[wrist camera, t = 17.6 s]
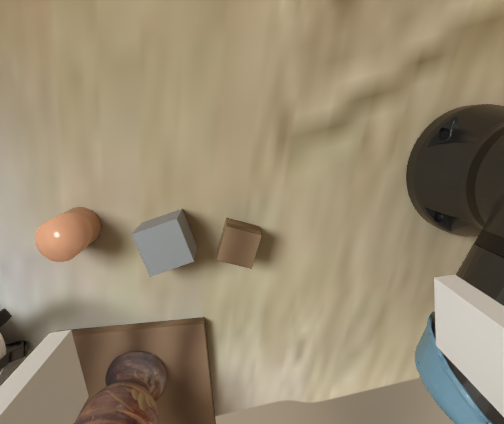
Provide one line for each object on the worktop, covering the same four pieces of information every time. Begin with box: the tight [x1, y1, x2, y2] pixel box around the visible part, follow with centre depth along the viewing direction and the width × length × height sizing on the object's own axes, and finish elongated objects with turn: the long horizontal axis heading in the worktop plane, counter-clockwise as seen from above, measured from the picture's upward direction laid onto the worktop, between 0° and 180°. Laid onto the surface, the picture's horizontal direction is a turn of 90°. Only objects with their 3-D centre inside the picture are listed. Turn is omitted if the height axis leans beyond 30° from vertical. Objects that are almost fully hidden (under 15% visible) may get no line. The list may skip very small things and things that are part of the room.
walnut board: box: [58, 317, 216, 424], centre depth 47 cm, size 18×16×2 cm
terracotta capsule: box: [35, 207, 101, 262], centre depth 40 cm, size 4×4×6 cm
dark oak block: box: [217, 218, 262, 269], centre depth 42 cm, size 4×4×4 cm
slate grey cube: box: [131, 209, 198, 277], centre depth 41 cm, size 5×5×5 cm
